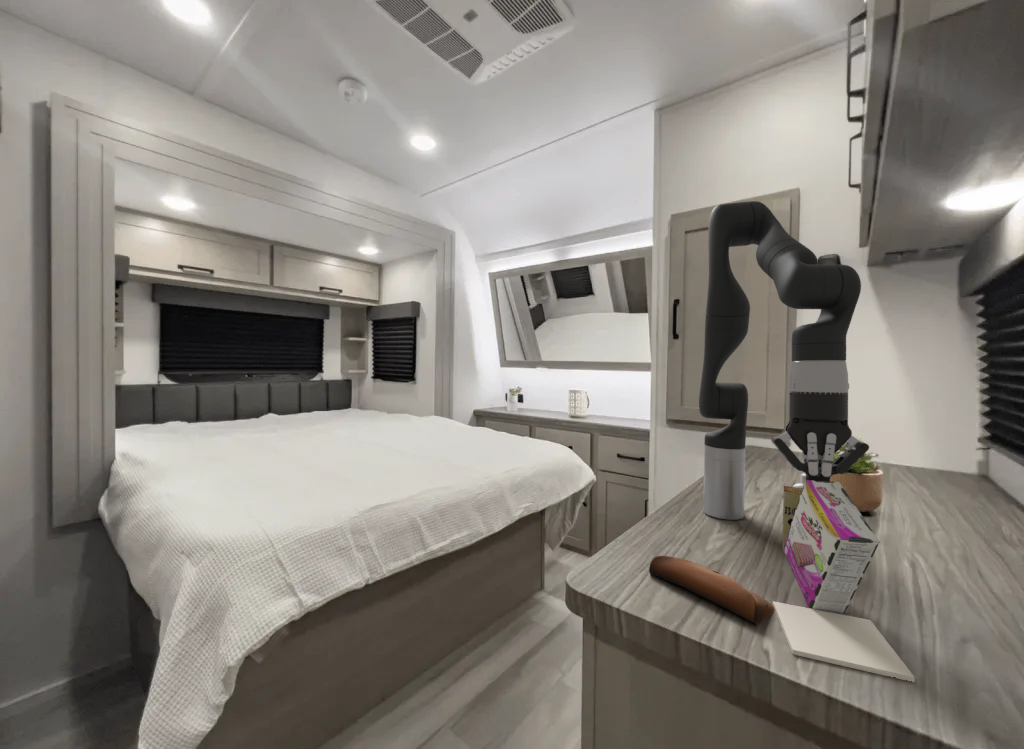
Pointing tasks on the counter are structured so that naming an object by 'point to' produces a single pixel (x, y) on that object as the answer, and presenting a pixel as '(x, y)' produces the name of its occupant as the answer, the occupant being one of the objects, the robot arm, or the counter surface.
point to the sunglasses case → (712, 587)
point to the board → (839, 640)
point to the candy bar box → (828, 546)
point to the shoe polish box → (789, 508)
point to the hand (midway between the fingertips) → (817, 498)
